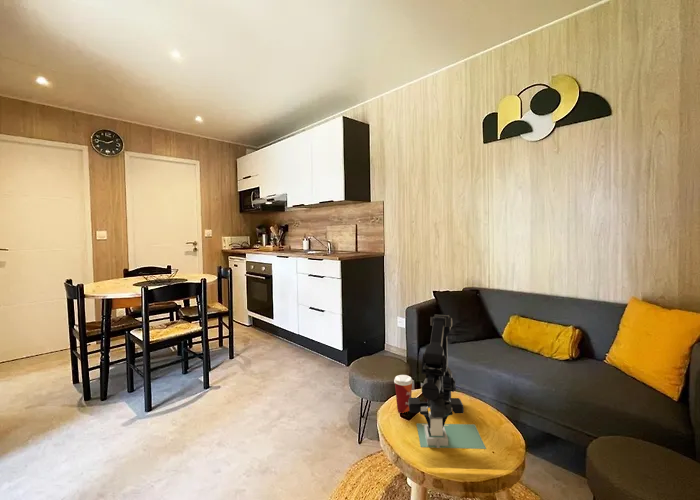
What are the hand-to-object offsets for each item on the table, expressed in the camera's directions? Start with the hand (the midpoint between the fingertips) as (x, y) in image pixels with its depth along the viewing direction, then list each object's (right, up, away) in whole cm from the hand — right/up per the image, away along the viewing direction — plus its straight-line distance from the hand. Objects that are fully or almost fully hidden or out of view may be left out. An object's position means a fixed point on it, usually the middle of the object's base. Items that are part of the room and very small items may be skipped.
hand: (435, 428), depth 119 cm
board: (+5, -5, +2) cm, 7 cm away
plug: (0, -1, 0) cm, 1 cm away
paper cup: (-8, -4, +21) cm, 23 cm away
